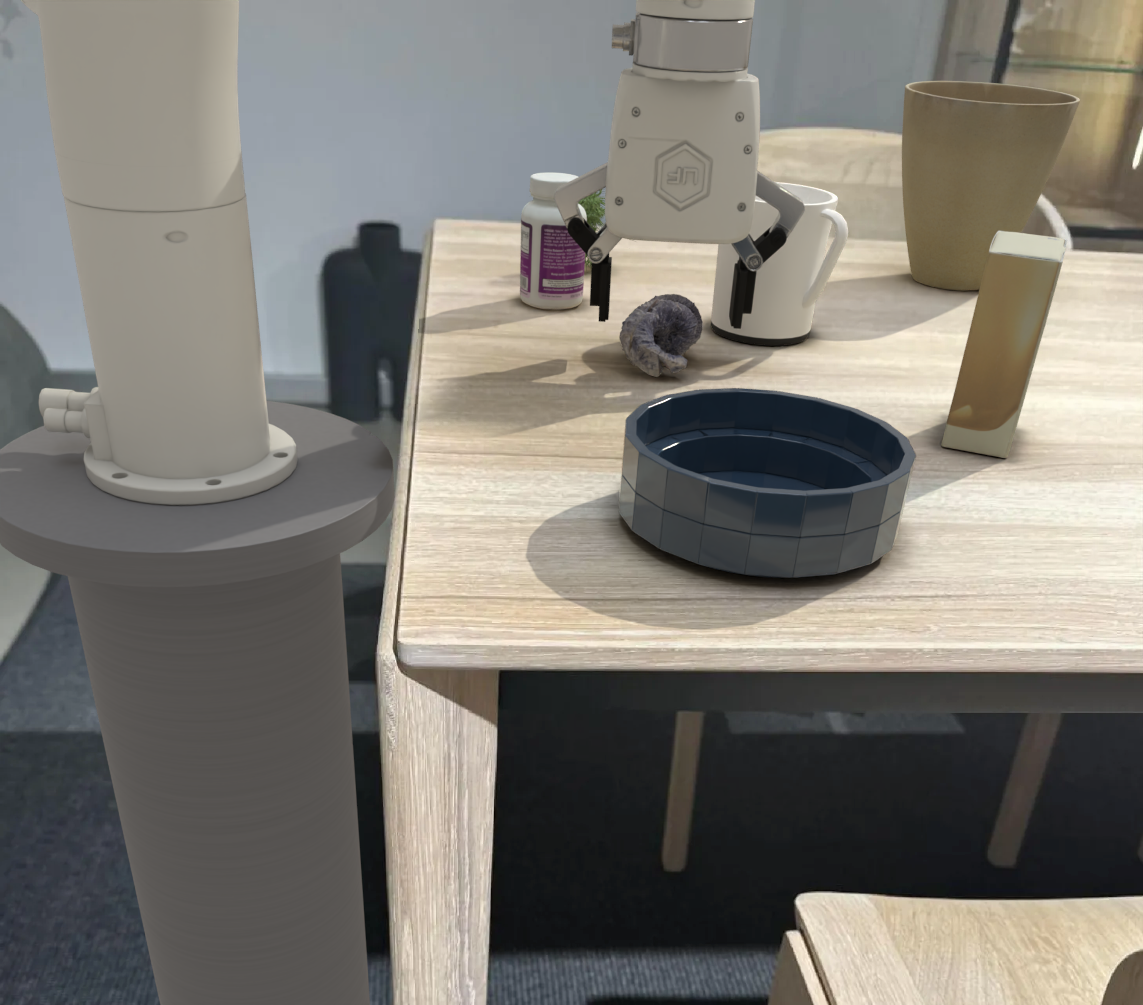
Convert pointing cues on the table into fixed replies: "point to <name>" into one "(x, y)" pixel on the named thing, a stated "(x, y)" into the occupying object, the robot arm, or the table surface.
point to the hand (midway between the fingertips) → (669, 319)
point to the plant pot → (973, 170)
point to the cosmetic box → (1003, 341)
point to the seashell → (661, 333)
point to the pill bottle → (549, 249)
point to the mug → (783, 272)
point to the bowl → (764, 481)
